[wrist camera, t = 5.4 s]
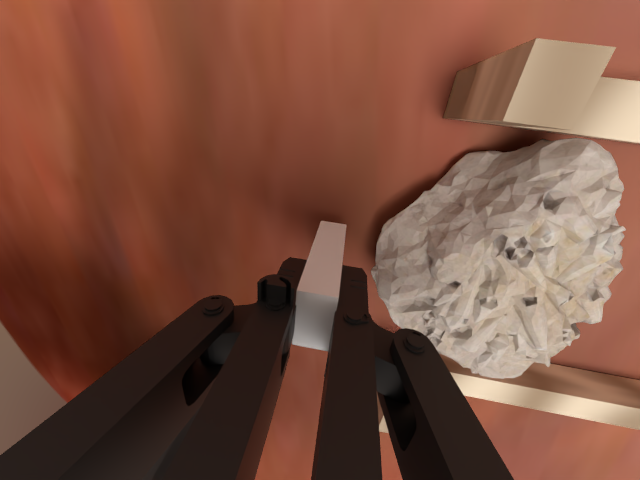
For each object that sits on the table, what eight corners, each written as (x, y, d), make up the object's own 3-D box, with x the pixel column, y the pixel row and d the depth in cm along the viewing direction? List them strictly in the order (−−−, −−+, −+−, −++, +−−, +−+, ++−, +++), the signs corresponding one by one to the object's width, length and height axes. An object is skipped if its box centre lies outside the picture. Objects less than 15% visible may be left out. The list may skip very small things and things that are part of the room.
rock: (444, 335, 19) (476, 415, 14) (351, 235, 17) (350, 291, 12) (614, 255, 15) (748, 330, 10) (528, 104, 12) (651, 99, 7)
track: (371, 349, 21) (377, 430, 15) (457, 71, 12) (536, 38, 7) (640, 400, 19) (747, 508, 14) (948, 132, 11) (1518, 149, 6)
